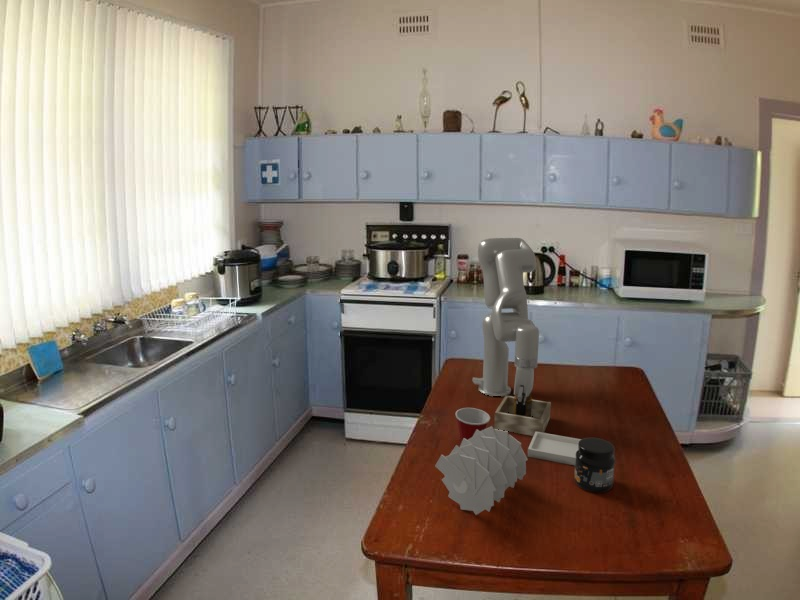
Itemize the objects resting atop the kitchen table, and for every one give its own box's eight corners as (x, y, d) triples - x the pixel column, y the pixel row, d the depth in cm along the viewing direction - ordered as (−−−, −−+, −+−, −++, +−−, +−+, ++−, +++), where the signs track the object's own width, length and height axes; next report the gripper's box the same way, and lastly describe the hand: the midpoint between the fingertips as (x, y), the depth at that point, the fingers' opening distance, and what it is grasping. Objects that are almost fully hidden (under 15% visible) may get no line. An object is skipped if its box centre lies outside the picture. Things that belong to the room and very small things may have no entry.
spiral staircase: (515, 494, 167) (472, 535, 147) (467, 453, 174) (420, 486, 154) (546, 448, 159) (505, 484, 139) (494, 407, 167) (449, 436, 147)
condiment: (525, 417, 207) (526, 385, 205) (538, 427, 200) (540, 394, 197) (507, 420, 205) (508, 388, 202) (519, 430, 197) (521, 397, 194)
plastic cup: (480, 461, 177) (481, 424, 174) (448, 452, 182) (449, 416, 180) (494, 447, 186) (495, 411, 183) (463, 438, 191) (464, 404, 188)
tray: (527, 456, 180) (527, 449, 179) (535, 438, 192) (535, 431, 191) (588, 468, 173) (589, 460, 172) (592, 448, 185) (593, 441, 184)
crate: (494, 429, 198) (494, 412, 197) (504, 410, 212) (505, 395, 211) (542, 437, 192) (543, 420, 191) (549, 418, 206) (550, 402, 205)
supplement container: (573, 471, 171) (576, 434, 168) (611, 477, 168) (615, 439, 165) (573, 490, 161) (576, 451, 158) (613, 497, 158) (617, 456, 156)
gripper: (520, 352, 206) (517, 398, 210) (509, 368, 191) (506, 417, 195) (541, 355, 203) (538, 402, 207) (532, 371, 188) (529, 421, 192)
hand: (523, 409), depth 201 cm, fingers open, 8 cm apart
